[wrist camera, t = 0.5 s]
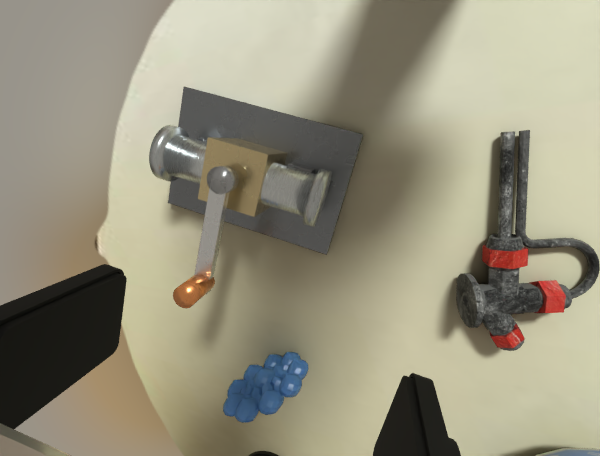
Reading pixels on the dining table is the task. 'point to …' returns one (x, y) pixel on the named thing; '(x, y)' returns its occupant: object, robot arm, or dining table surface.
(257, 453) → the french press
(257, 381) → the grapes
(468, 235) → the dining table surface
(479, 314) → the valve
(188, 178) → the valve body
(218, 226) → the lever
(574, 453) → the ramen bowl
